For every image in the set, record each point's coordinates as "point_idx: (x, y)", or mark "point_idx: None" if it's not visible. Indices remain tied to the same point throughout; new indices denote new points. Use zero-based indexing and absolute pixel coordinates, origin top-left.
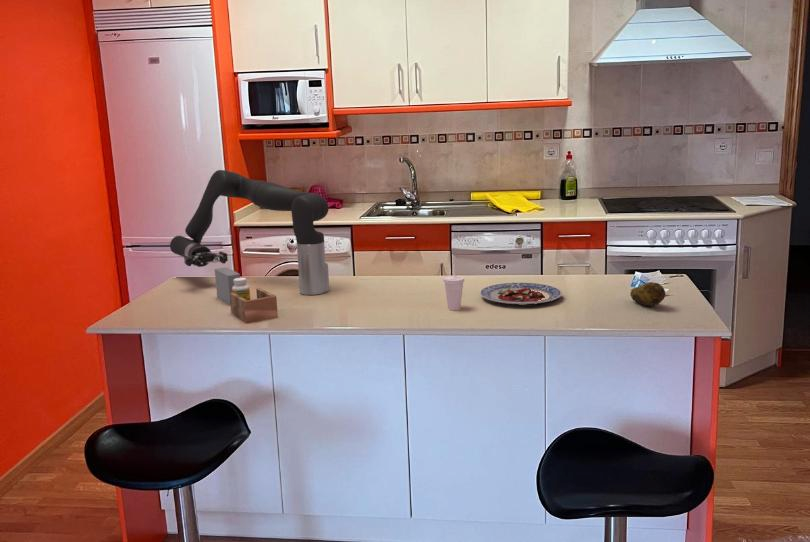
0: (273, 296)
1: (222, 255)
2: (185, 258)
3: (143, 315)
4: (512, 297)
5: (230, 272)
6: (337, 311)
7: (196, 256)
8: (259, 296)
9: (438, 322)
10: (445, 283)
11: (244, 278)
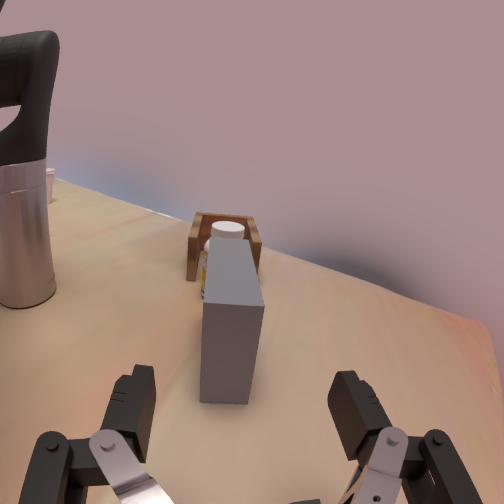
0: (200, 213)
1: (104, 431)
2: (469, 487)
3: (441, 347)
4: None
5: (226, 253)
6: (113, 231)
7: (383, 472)
8: (197, 246)
9: (91, 197)
10: (51, 174)
11: (216, 224)
